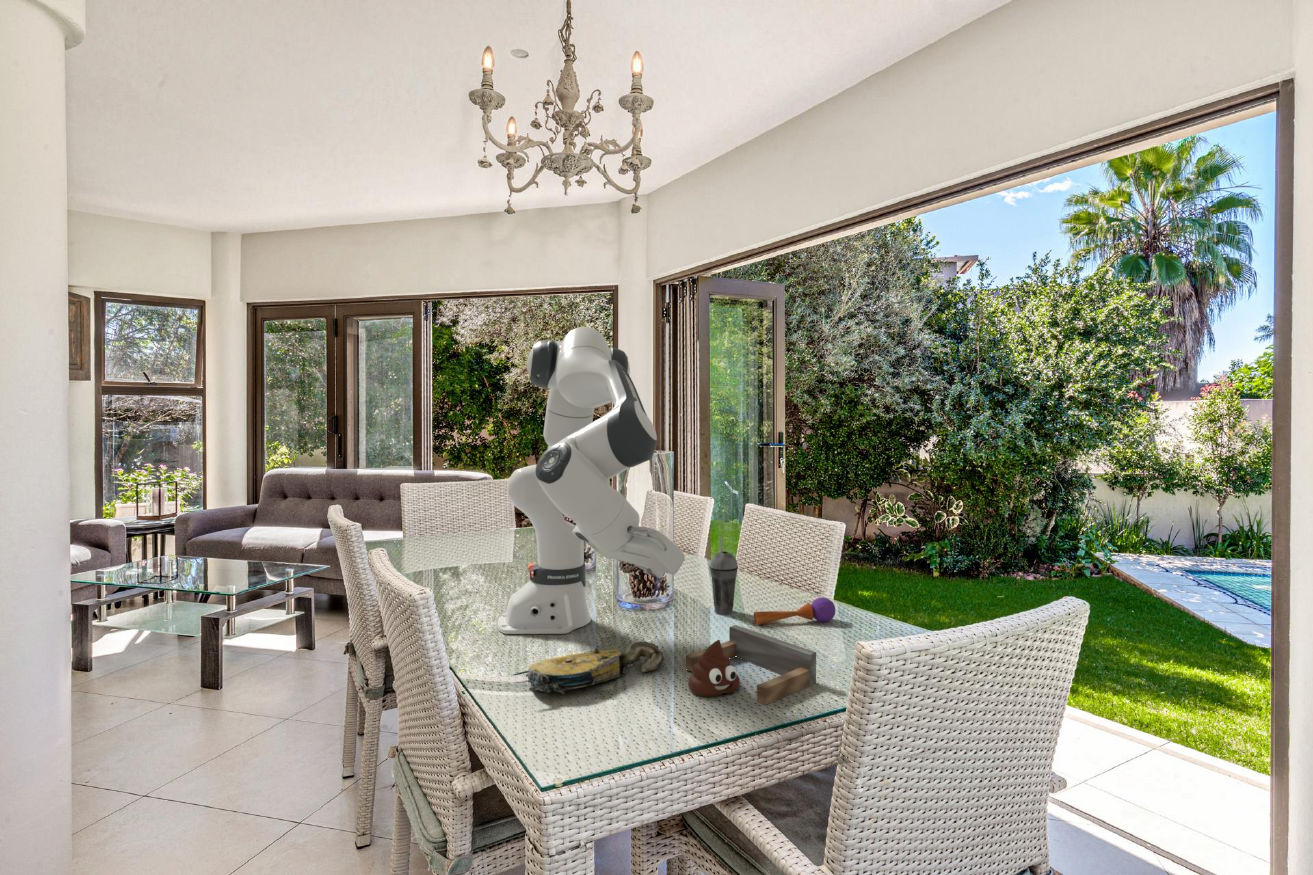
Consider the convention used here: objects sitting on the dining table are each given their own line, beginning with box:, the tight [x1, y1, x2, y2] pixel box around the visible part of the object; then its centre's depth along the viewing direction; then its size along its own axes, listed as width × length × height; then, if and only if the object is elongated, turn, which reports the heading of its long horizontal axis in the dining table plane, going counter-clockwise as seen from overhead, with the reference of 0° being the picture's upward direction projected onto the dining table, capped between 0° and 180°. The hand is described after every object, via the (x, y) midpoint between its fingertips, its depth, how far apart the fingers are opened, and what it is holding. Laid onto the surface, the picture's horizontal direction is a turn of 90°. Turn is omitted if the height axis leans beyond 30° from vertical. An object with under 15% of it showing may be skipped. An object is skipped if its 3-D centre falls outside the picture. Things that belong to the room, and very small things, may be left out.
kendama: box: [753, 596, 836, 626], centre depth 168 cm, size 6×6×20 cm
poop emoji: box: [688, 639, 741, 698], centre depth 130 cm, size 10×8×9 cm
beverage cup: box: [709, 534, 739, 616], centre depth 176 cm, size 7×7×20 cm
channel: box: [685, 624, 817, 706], centre depth 136 cm, size 15×21×6 cm
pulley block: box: [512, 640, 666, 695], centre depth 136 cm, size 14×6×30 cm
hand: (658, 573), depth 119 cm, fingers closed
